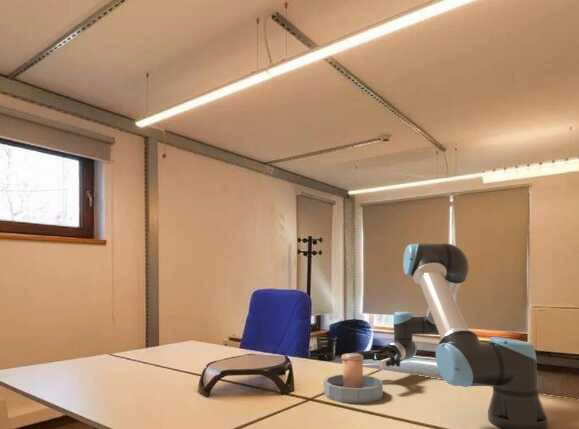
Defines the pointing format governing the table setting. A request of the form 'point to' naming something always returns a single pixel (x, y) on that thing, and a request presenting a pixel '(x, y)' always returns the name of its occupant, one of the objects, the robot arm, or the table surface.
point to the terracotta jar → (352, 370)
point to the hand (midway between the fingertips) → (363, 362)
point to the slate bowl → (353, 390)
